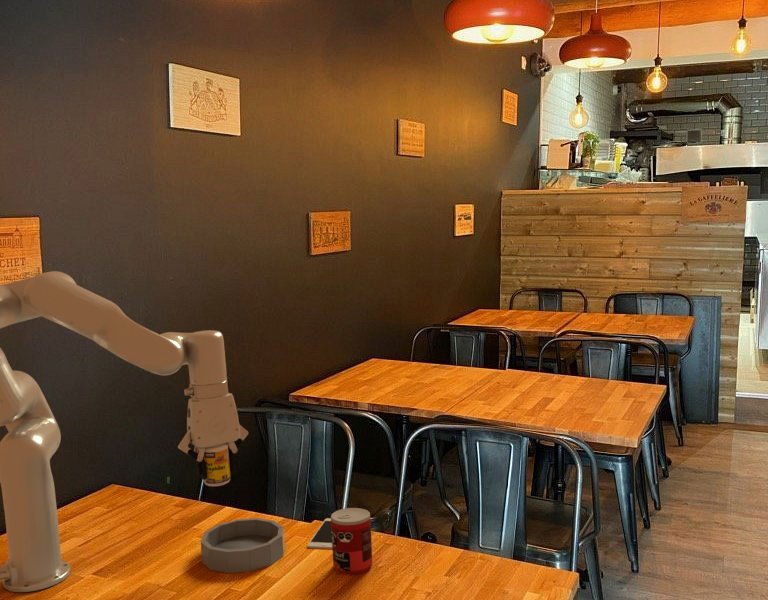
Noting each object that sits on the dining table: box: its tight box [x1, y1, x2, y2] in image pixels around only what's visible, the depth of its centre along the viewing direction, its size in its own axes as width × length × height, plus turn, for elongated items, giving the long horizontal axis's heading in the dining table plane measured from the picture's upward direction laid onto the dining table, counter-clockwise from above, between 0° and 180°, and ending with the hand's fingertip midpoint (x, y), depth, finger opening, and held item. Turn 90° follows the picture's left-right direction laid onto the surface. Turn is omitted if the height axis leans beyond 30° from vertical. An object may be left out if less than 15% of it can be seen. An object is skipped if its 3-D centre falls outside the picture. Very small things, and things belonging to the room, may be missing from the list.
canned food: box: [330, 507, 373, 576], centre depth 153 cm, size 8×8×11 cm
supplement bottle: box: [203, 443, 231, 487], centre depth 159 cm, size 6×6×10 cm
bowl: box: [200, 517, 286, 574], centre depth 162 cm, size 17×17×4 cm
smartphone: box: [306, 517, 332, 550], centre depth 171 cm, size 7×15×1 cm, turn 169°
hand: (217, 473), depth 160 cm, fingers closed on supplement bottle, 5 cm apart
